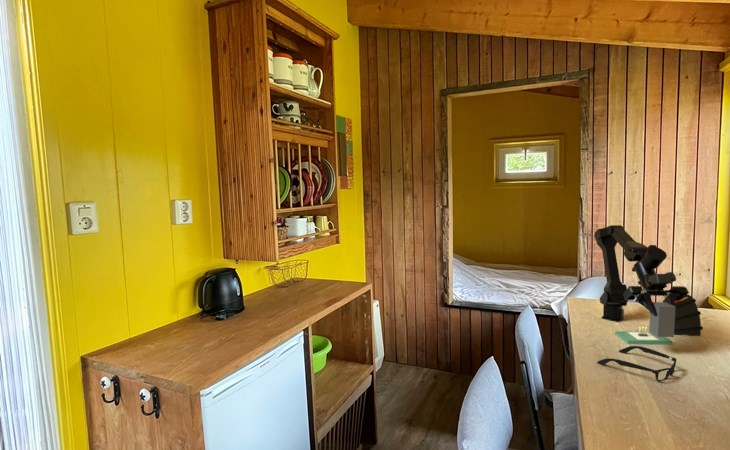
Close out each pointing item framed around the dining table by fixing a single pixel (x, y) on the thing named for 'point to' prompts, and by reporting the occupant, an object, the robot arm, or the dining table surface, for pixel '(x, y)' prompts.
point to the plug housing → (662, 320)
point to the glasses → (628, 364)
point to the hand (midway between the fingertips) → (664, 315)
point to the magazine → (687, 317)
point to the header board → (642, 337)
